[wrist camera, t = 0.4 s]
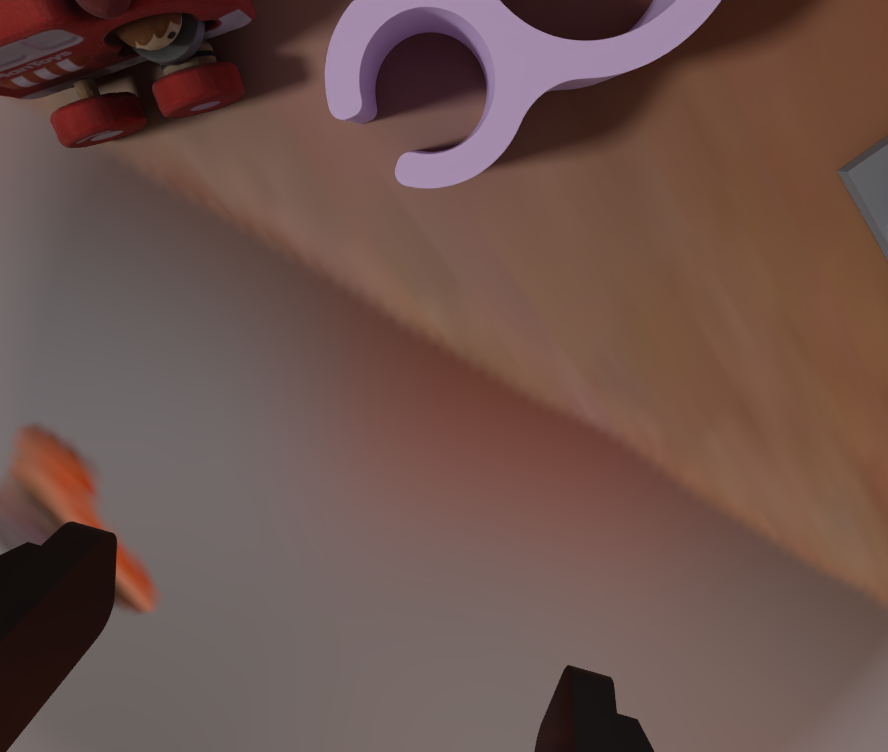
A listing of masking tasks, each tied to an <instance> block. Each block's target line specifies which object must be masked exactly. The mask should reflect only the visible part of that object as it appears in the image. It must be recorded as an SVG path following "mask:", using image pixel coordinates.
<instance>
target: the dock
mask: <svg viewBox="0 0 888 752" xmlns="http://www.w3.org/2000/svg"><path fill="white" fill-rule="evenodd" d="M837 172H838V174H839V175H840V177H841V179H842V181H843V182H844V184H845V186H846V188H847V190H848V191H849V193H850V195H851V197H852V198H853V200H854V202H855V204H856V205H857V207H858V209H859V211H860V213H861V214H862V216H863V218H864V220H865V221H866V223H867V225H868V227H869V228H870V230H871V232H872V234H873V236H874V237H875V239H876V241H877V243H878V244H879V246H880V248H881V250H882V251H883V253H884V255H885V257H886V259H887V260H888V136H887V137H885V138H884V139H882V140H881V141H880V142H878V143H877V144H875V145H874V146H872V147H871V148H870V149H868V150H867V151H865V152H864V153H862V154H861V155H859V156H858V157H857V158H855V159H854V160H852V161H851V162H849V163H848V164H847V165H845V166H844V167H842V168H841V169H839V170H838V171H837Z"/></svg>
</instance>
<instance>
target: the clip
mask: <svg viewBox="0 0 888 752" xmlns="http://www.w3.org/2000/svg"><path fill="white" fill-rule="evenodd" d="M720 1H721V0H653V1H652V3H651V4H650V6H649V7H648V9H647V10H646V12H645V13H644V15H643V16H642V17H641V19H640V20H639V21H638V22H637V23H636V24H635V25H634V27H633V28H632V29H631V30H630V31H628V32H627V33H626V34H623V35H620V36H616V37H613V38H608V39H603V40H594V41H578V40H569V39H563V38H559V37H555V36H552V35H549V34H546V33H544V32H542V31H539V30H537V29H535V28H534V27H532V26H530V25H528V24H527V23H525V22H524V21H522V20H521V19H519V18H518V17H517V16H516V15H514V14H513V13H512V12H511V11H510V10H509V9H508V8H507V7H506V6H505V5H504V4H503V3H502V2H501V1H500V0H354V1H353V2H352V3H351V4H350V5H349V7H348V8H347V9H346V11H345V12H344V14H343V15H342V17H341V18H340V20H339V22H338V24H337V26H336V28H335V30H334V33H333V35H332V38H331V41H330V44H329V48H328V53H327V58H326V66H325V87H326V96H327V101H328V105H329V109H330V112H331V113H332V115H333V116H334V117H336V118H337V119H340V120H345V121H350V122H354V123H359V124H364V123H367V122H369V121H371V120H373V119H374V118H375V117H376V115H377V104H376V96H375V87H376V80H377V75H378V72H379V69H380V67H381V64H382V62H383V61H384V59H385V57H386V56H387V54H388V53H389V52H390V51H391V50H392V49H393V48H394V47H395V46H396V45H397V44H398V43H400V42H401V41H402V40H404V39H406V38H408V37H410V36H412V35H416V34H419V33H426V32H436V33H442V34H446V35H449V36H451V37H454V38H455V39H457V40H459V41H460V42H462V43H463V44H464V45H466V46H467V47H468V48H469V49H470V50H471V51H472V52H473V54H474V55H475V56H476V58H477V60H478V61H479V63H480V65H481V67H482V70H483V73H484V76H485V80H486V89H487V96H486V104H485V109H484V112H483V115H482V118H481V120H480V122H479V124H478V125H477V127H476V128H475V130H474V131H473V132H472V133H471V134H470V135H469V137H468V138H466V139H465V140H464V141H463V142H461V143H460V144H458V145H456V146H454V147H452V148H450V149H447V150H443V151H438V152H424V151H418V150H416V151H411V152H407V153H405V154H403V155H402V156H401V157H400V158H399V160H398V163H397V165H396V168H395V176H396V178H397V180H398V181H399V182H400V183H401V184H403V185H405V186H410V187H417V188H440V187H446V186H450V185H454V184H457V183H460V182H463V181H465V180H468V179H470V178H472V177H474V176H476V175H477V174H479V173H480V172H482V171H483V170H485V169H486V168H487V167H489V166H490V165H491V164H492V163H493V162H494V161H496V160H497V159H498V157H499V156H500V155H501V154H502V153H503V152H504V151H505V149H506V148H507V147H508V145H509V144H510V142H511V141H512V139H513V138H514V136H515V134H516V132H517V130H518V128H519V126H520V124H521V122H522V120H523V117H524V116H525V114H526V112H527V111H528V109H529V108H530V107H531V105H532V104H533V103H534V102H535V101H536V100H537V99H538V98H539V97H540V96H541V95H542V94H543V93H545V92H548V91H554V90H570V89H578V88H583V87H587V86H591V85H595V84H598V83H600V82H603V81H606V80H608V79H611V78H613V77H616V76H619V75H621V74H624V73H626V72H629V71H631V70H634V69H637V68H639V67H641V66H644V65H646V64H648V63H650V62H652V61H654V60H656V59H658V58H660V57H661V56H663V55H665V54H666V53H668V52H669V51H671V50H672V49H674V48H675V47H677V46H678V45H679V44H680V43H682V42H683V41H684V40H686V39H687V38H688V37H689V36H690V35H691V34H692V33H693V32H695V31H696V30H697V29H698V28H699V27H700V26H701V24H702V23H703V22H704V21H705V20H706V19H707V18H708V17H709V16H710V14H711V13H712V12H713V11H714V9H715V8H716V7H717V5H718V4H719V3H720Z"/></svg>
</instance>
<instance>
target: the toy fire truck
mask: <svg viewBox="0 0 888 752" xmlns="http://www.w3.org/2000/svg"><path fill="white" fill-rule="evenodd" d="M255 15H256V14H255V9H254V6H253V2H252V0H0V95H1V96H8V97H13V98H18V99H36V98H41V97H45V96H48V95H50V94H54V93H57V92H60V91H62V90H65V89H68V88H73V87H75V89H76V91H77V93H78V96H79V98H80V100H78V101H76V102H73V103H70V104H68V105H66V106H63V107H61V108H58V109H57V110H56V111H54V112H53V113H52V116H51V119H50V121H51V124H52V125H53V128H54V130H55V132H56V134H57V137H58V139H59V141H60V142H61V144H62V145H63V146H65V147H67V148H79V147H87V146H91V145H96V144H100V143H104V142H107V141H111V140H115V139H118V138H121V137H124V136H126V135H129V134H131V133H134V132H136V131H138V130H140V129H141V128H143V127H144V126H145V125H146V122H147V120H146V116H145V114H144V111H143V109H142V106H141V104H140V102H139V99H138V97H137V96H136V95H135V94H133V93H130V92H119V93H106V94H102V95H100V92H99V90H98V88H97V86H96V83H95V82H96V81H98V80H100V79H101V78H102V77H103V76H105V75H108V74H111V73H114V72H116V71H119V70H121V69H124V68H127V67H130V66H133V65H136V64H139V63H141V62H144V61H147V60H150V61H152V62H155V63H159V64H160V65H161V68H162V70H163V73H164V75H165V76H164V77H161V78H160V79H159V80H157V81H156V82H155V83H154V84H153V86H152V89H153V90H152V91H153V94H154V96H155V98H156V101H157V104H158V106H159V109H160V111H161V113H162V114H163V115H164V116H166V117H170V118H178V117H186V116H191V115H196V114H199V113H204V112H208V111H212V110H215V109H218V108H221V107H224V106H226V105H229V104H231V103H233V102H235V101H237V100H239V99H241V98H242V97H243V96H244V94H245V89H244V86H243V83H242V80H241V77H240V74H239V71H238V68H237V67H236V65H234V64H233V63H231V62H227V61H223V62H217V60H216V53H215V52H214V51H213V49H212V47H211V45H210V44H209V43H208V42H207V39H209V38H212V37H215V36H218V35H222V34H224V33H227V32H230V31H233V30H235V29H238V28H241V27H244V26H246V25H248V24H250V23H251V22H253V20H254V19H255Z"/></svg>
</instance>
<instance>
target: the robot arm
mask: <svg viewBox="0 0 888 752" xmlns="http://www.w3.org/2000/svg"><path fill="white" fill-rule="evenodd" d="M116 554H117V538H116V536H115V534H114V533H111V532H108V531H104V530H101V529H97V528H94V527H90V526H87V525H83V524H80V523H76V522H68V523H66V524H64V525H63V526H62V527H61V528H60V529H58V530H57V531H56V532H55V533H54V534H53V535H52V536H51V537H50V538H49V539H48V540H47V541H45V542H44V543H43V544H42V545H41V546H40V545H36V544H33V543H29V542H27V543H25V544H23V545H21V546H18V547H16V548H14V549H12V550H10V551H8V552H6V553H4V554H1V555H0V752H6V751H7V750H8V749H9V747H10V746H11V745H12V744H13V742H14V741H15V740H16V739H17V737H18V736H19V735H20V734H21V732H22V731H23V730H24V729H25V728H26V726H27V725H28V724H29V723H30V721H31V720H32V719H33V717H34V716H35V715H36V714H37V712H38V711H39V710H40V709H41V707H42V706H43V705H44V704H45V703H46V701H47V700H48V699H49V698H50V696H51V695H52V694H53V693H54V691H55V690H56V689H57V688H58V686H59V685H60V684H61V683H62V681H63V680H64V679H65V678H66V676H67V675H68V674H69V673H70V671H71V670H72V669H73V667H74V666H75V665H76V664H77V663H78V661H79V660H80V659H81V658H82V656H83V655H84V654H85V653H86V651H87V650H88V649H89V648H90V646H91V645H92V644H93V643H94V641H95V640H96V639H97V638H98V636H99V635H100V633H101V632H102V631H103V629H104V627H105V625H106V623H107V621H108V619H109V617H110V614H111V611H112V608H113V604H114V598H115V576H116ZM535 752H654V750H653V748H652V746H651V744H650V742H649V741H648V739H647V737H646V735H645V733H644V731H643V729H642V727H641V725H640V723H639V722H638V720H637V719H634V718H631V717H628V716H624V715H620V714H617V710H616V701H615V690H614V683H613V680H612V678H611V677H608V676H605V675H602V674H598V673H595V672H591V671H588V670H584V669H580V668H577V667H574V666H570V665H568V666H567V667H566V668H565V669H564V671H563V673H562V676H561V678H560V680H559V683H558V685H557V687H556V690H555V692H554V695H553V697H552V699H551V702H550V704H549V706H548V709H547V711H546V714H545V716H544V718H543V721H542V723H541V726H540V729H539V732H538V736H537V740H536V746H535Z"/></svg>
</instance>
